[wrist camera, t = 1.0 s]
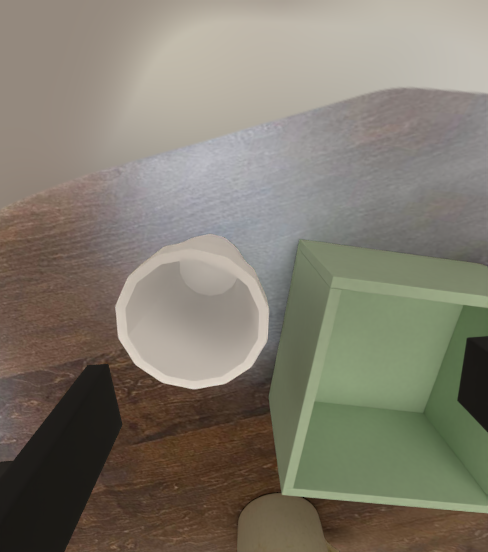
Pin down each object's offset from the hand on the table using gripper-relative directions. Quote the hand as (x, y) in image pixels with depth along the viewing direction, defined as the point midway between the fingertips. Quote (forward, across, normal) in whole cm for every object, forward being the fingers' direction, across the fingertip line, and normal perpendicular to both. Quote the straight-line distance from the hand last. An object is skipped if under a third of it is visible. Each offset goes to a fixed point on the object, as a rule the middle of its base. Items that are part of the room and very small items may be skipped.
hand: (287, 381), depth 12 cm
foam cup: (+21, -5, -1) cm, 22 cm away
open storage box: (+21, +11, -10) cm, 26 cm away
